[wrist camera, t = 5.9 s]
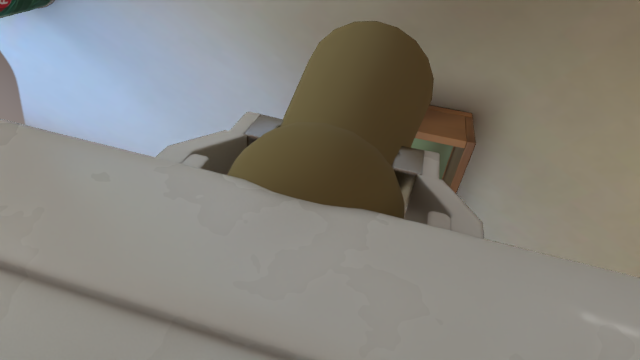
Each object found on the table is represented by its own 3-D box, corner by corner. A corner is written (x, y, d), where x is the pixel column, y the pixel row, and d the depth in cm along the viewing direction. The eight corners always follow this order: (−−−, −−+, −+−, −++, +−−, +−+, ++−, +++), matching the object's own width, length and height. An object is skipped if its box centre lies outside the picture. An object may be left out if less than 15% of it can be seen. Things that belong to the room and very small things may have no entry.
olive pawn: (454, 116, 18) (457, 319, 9) (344, 159, 21) (270, 342, 12) (397, -8, 15) (329, 110, 7) (282, 60, 18) (137, 201, 10)
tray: (472, 113, 30) (476, 143, 26) (411, 277, 42) (408, 313, 39) (311, 81, 32) (293, 105, 28) (297, 247, 44) (284, 279, 41)
